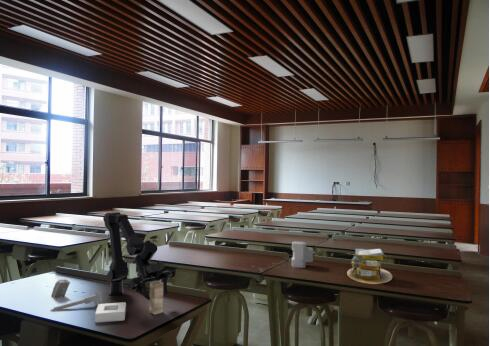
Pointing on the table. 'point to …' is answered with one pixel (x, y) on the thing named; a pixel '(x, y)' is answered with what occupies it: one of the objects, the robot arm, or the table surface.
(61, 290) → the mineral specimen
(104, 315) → the socket block
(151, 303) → the birch peg
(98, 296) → the caliper
